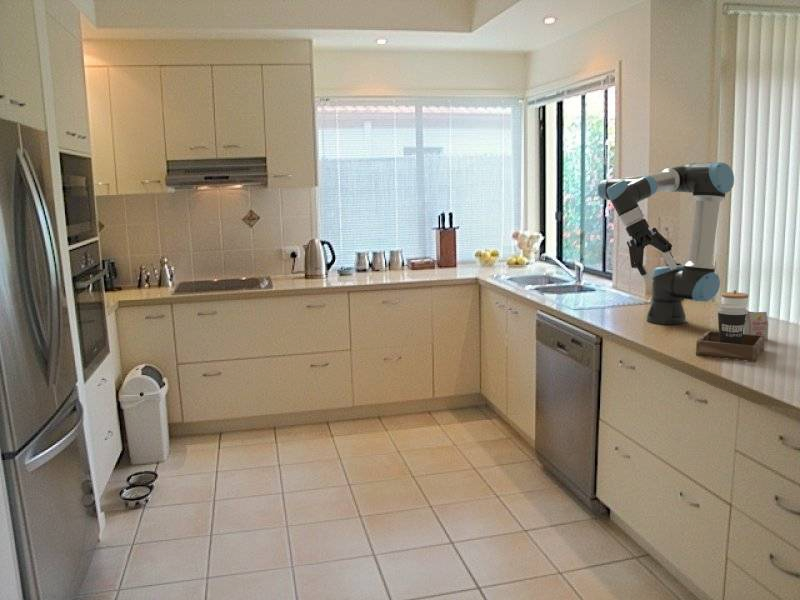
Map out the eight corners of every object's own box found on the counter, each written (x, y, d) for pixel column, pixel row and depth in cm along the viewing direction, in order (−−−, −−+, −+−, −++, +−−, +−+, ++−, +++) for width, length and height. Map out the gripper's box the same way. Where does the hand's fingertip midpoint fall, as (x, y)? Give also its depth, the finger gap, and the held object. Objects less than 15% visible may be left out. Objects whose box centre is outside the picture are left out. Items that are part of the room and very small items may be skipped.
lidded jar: (721, 313, 301) (722, 291, 300) (719, 308, 311) (720, 288, 310) (748, 314, 297) (750, 292, 296) (746, 309, 307) (747, 288, 306)
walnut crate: (707, 344, 246) (708, 330, 245) (763, 350, 236) (764, 335, 235) (695, 355, 232) (696, 340, 231) (755, 361, 221) (756, 346, 221)
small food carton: (743, 338, 254) (745, 311, 253) (762, 337, 254) (763, 310, 253) (748, 340, 251) (750, 313, 249) (767, 339, 251) (769, 312, 249)
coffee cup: (710, 350, 234) (712, 306, 231) (720, 344, 240) (722, 302, 238) (740, 354, 227) (742, 309, 225) (749, 348, 234) (752, 305, 231)
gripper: (649, 214, 255) (675, 266, 254) (604, 237, 243) (632, 291, 242) (664, 207, 248) (691, 260, 247) (619, 230, 237) (647, 285, 236)
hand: (662, 275), depth 245 cm, fingers open, 13 cm apart
